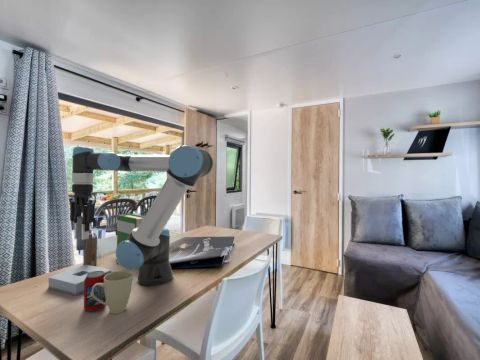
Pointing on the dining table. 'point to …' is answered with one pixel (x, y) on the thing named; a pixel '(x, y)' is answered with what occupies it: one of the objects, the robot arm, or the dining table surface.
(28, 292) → the dining table surface
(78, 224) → the pin
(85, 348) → the dining table surface
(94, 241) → the wooden block
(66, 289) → the bore block
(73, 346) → the dining table surface
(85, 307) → the beverage can
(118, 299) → the mug
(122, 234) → the hardback book
